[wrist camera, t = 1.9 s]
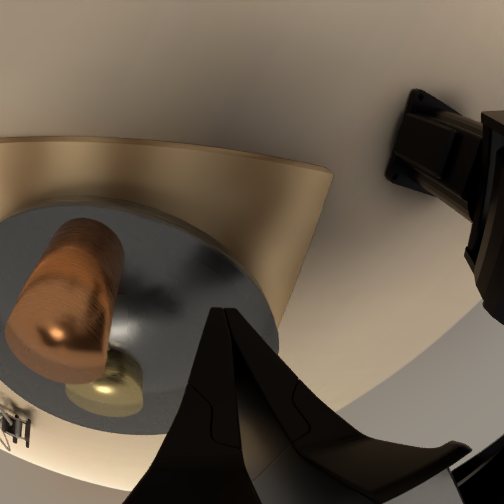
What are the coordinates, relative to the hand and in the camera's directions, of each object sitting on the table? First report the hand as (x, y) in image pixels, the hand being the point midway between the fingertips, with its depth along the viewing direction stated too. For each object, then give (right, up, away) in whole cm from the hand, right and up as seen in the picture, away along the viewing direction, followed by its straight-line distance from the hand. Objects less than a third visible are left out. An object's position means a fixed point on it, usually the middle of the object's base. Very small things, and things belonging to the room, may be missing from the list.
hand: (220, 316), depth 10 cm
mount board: (-8, -2, +9) cm, 13 cm away
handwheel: (-7, -4, +6) cm, 10 cm away
